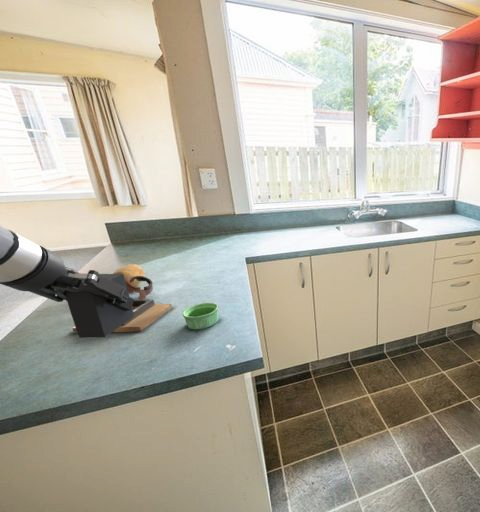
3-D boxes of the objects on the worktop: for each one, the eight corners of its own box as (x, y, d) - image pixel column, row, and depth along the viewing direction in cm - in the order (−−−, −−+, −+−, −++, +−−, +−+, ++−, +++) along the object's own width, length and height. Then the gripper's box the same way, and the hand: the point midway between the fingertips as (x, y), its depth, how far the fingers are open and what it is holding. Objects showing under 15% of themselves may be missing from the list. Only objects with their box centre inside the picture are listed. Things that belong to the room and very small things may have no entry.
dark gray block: (79, 338, 62) (63, 290, 59) (111, 316, 71) (99, 273, 67) (105, 337, 63) (90, 289, 59) (134, 315, 71) (123, 273, 68)
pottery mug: (140, 290, 110) (147, 272, 108) (153, 306, 107) (161, 288, 105) (98, 295, 99) (106, 275, 97) (112, 312, 96) (120, 292, 94)
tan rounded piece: (151, 278, 120) (146, 259, 118) (141, 291, 108) (135, 271, 105) (121, 281, 116) (115, 262, 114) (107, 296, 104) (100, 275, 101)
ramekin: (206, 313, 93) (203, 300, 92) (227, 318, 90) (225, 305, 89) (178, 327, 85) (175, 313, 84) (200, 333, 82) (197, 319, 81)
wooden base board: (73, 332, 82) (69, 321, 81) (114, 308, 95) (111, 299, 94) (141, 331, 83) (138, 320, 82) (172, 307, 96) (169, 298, 95)
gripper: (-61, 286, 46) (67, 323, 66) (70, 281, 48) (155, 319, 69) (-35, 243, 49) (80, 291, 70) (87, 241, 51) (163, 288, 72)
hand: (117, 305), depth 69 cm, fingers closed on dark gray block, 5 cm apart
